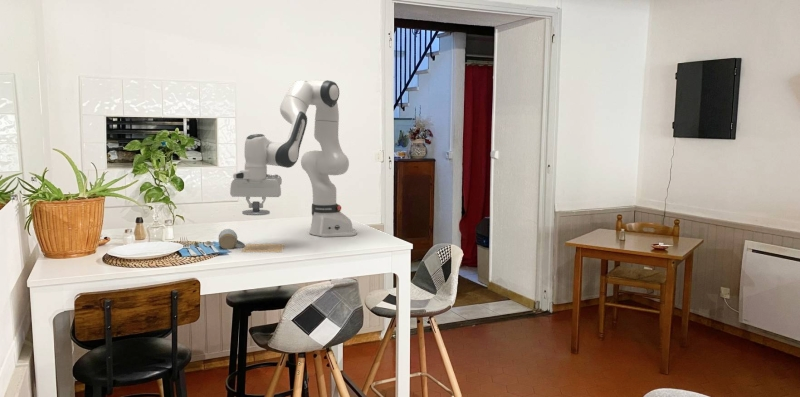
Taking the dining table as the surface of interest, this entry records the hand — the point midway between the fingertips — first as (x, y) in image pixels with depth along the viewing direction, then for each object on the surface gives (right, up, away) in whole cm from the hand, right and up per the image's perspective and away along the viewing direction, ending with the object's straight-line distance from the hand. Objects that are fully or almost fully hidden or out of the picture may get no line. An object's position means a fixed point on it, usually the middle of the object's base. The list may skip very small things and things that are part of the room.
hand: (256, 207), depth 253 cm
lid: (0, -2, 0) cm, 2 cm away
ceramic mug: (-11, -17, +4) cm, 21 cm away
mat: (+3, -17, +3) cm, 18 cm away
